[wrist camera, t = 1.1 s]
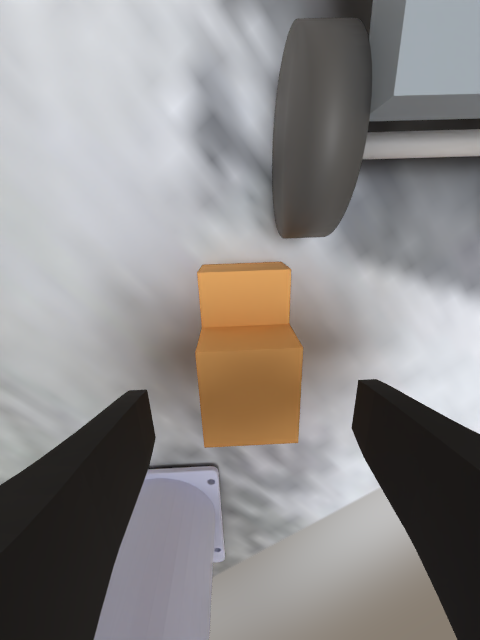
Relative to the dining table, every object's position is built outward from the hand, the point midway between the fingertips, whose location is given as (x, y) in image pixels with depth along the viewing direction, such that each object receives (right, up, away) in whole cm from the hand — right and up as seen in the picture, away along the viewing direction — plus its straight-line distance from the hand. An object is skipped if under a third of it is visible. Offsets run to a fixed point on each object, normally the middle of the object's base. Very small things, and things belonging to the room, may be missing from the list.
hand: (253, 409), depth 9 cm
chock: (0, +3, +6) cm, 6 cm away
